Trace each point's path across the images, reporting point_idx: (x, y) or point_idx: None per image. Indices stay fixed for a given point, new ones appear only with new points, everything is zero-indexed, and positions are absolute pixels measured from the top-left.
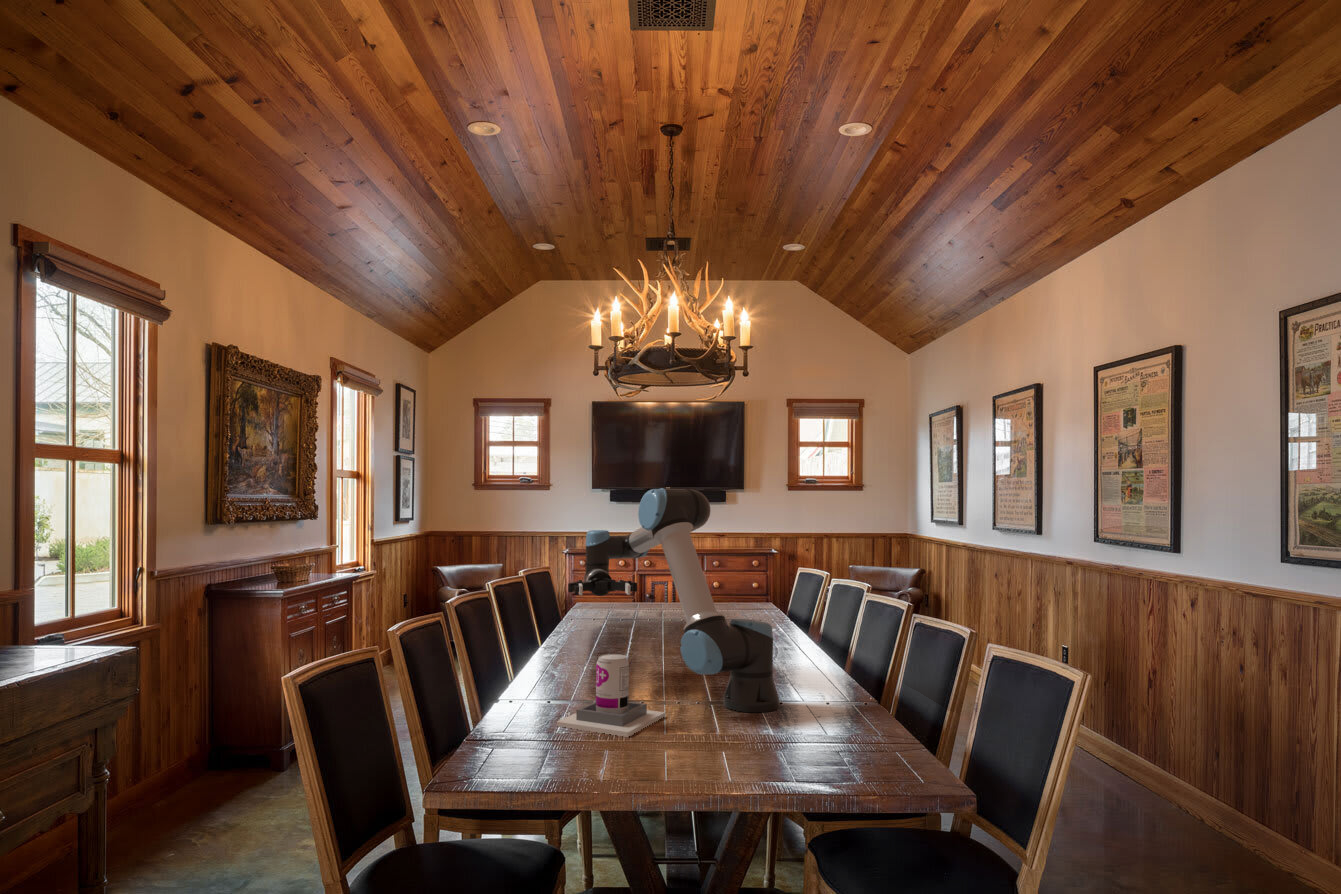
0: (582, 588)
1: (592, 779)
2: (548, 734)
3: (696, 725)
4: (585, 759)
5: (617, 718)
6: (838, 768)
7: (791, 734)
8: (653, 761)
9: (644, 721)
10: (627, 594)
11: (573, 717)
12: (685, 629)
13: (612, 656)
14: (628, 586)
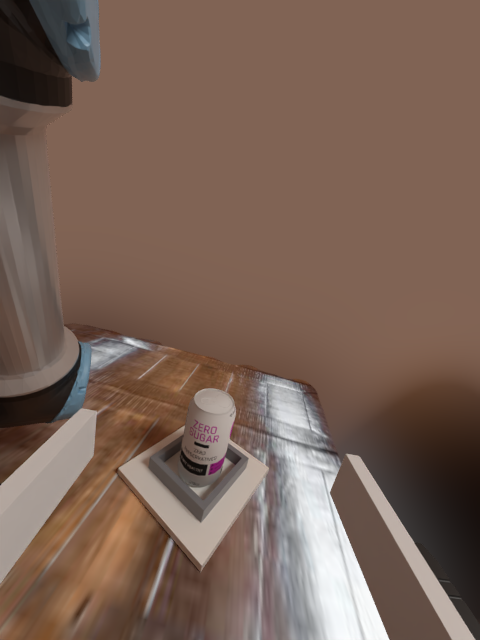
0: (342, 464)
1: (237, 374)
2: (272, 449)
3: (105, 431)
4: (239, 394)
5: None
6: (94, 346)
7: None
8: (195, 380)
9: (167, 440)
10: (85, 465)
11: (249, 479)
12: (76, 362)
13: (213, 405)
14: (92, 414)
